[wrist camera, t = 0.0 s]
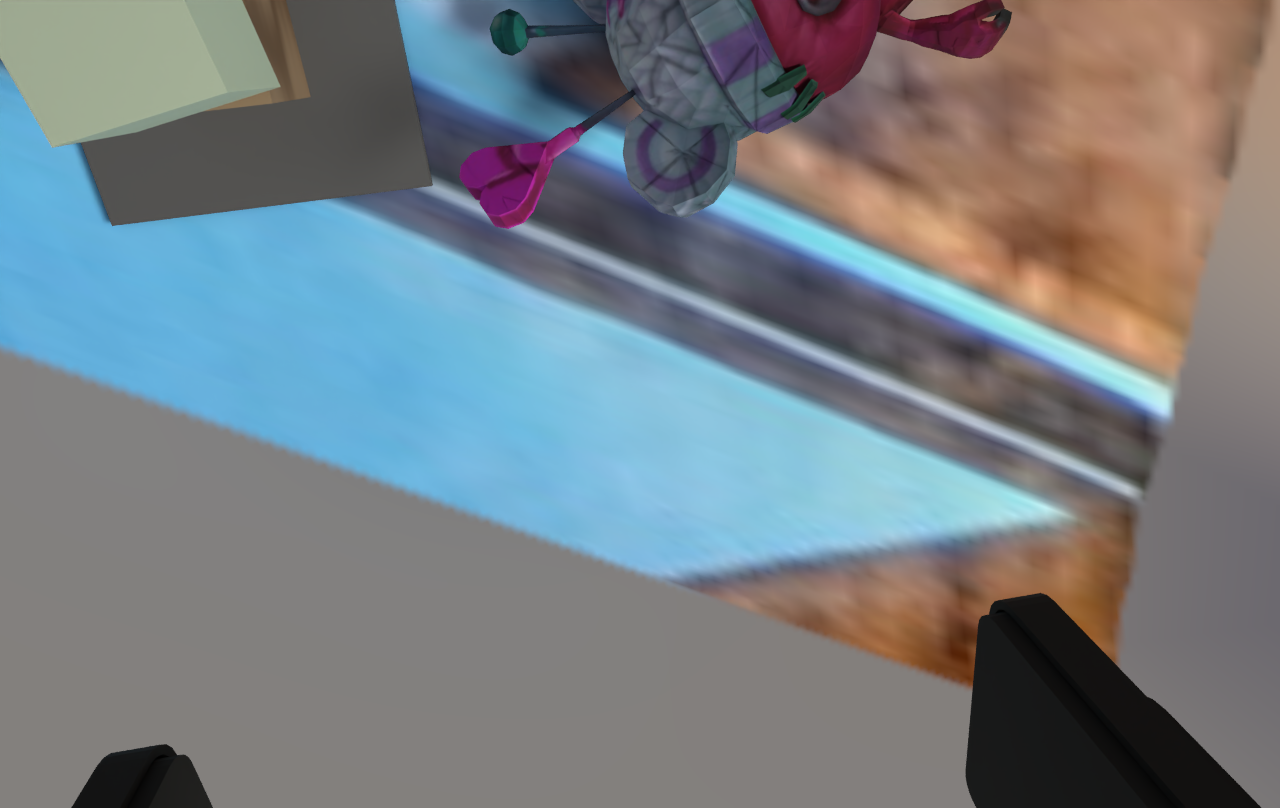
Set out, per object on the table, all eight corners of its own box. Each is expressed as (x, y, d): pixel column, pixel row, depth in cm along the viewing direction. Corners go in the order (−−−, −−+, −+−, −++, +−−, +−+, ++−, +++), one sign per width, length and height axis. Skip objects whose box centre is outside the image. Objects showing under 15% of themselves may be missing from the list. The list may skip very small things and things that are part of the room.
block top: (47, -35, 26) (-66, -57, 21) (204, -84, 26) (128, -118, 21) (135, 132, 29) (52, 147, 24) (280, 86, 29) (227, 92, 24)
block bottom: (130, -35, 31) (54, -54, 26) (273, -50, 32) (224, -71, 27) (178, 112, 34) (116, 121, 28) (310, 96, 34) (272, 103, 29)
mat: (-24, -152, 30) (-31, -154, 29) (356, -186, 31) (354, -189, 30) (116, 224, 35) (112, 226, 35) (432, 184, 36) (431, 185, 36)
